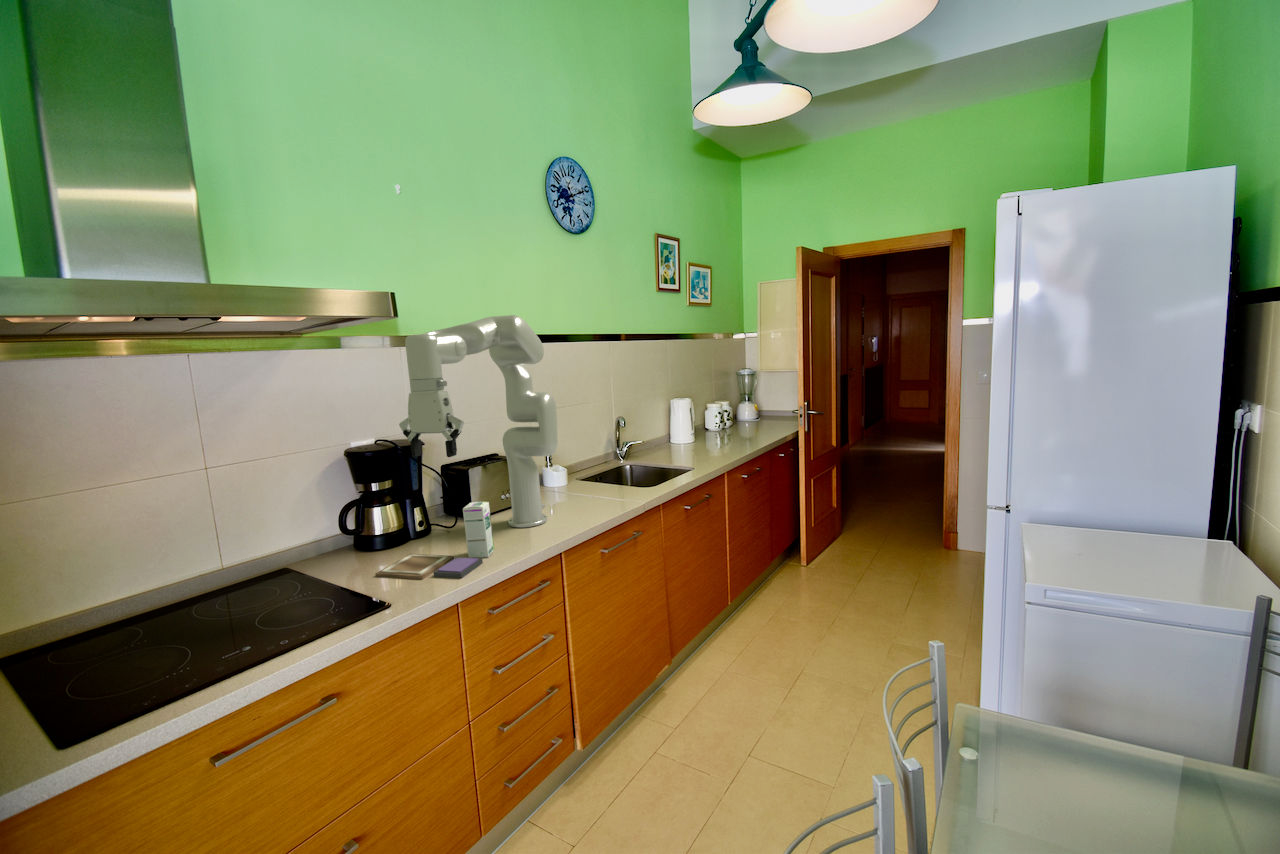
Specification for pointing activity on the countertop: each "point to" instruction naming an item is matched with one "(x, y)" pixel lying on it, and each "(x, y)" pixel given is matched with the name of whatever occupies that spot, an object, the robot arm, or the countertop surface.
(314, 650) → the countertop surface
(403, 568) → the board
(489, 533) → the syrup box
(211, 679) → the countertop surface
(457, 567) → the ink pad
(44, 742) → the countertop surface
